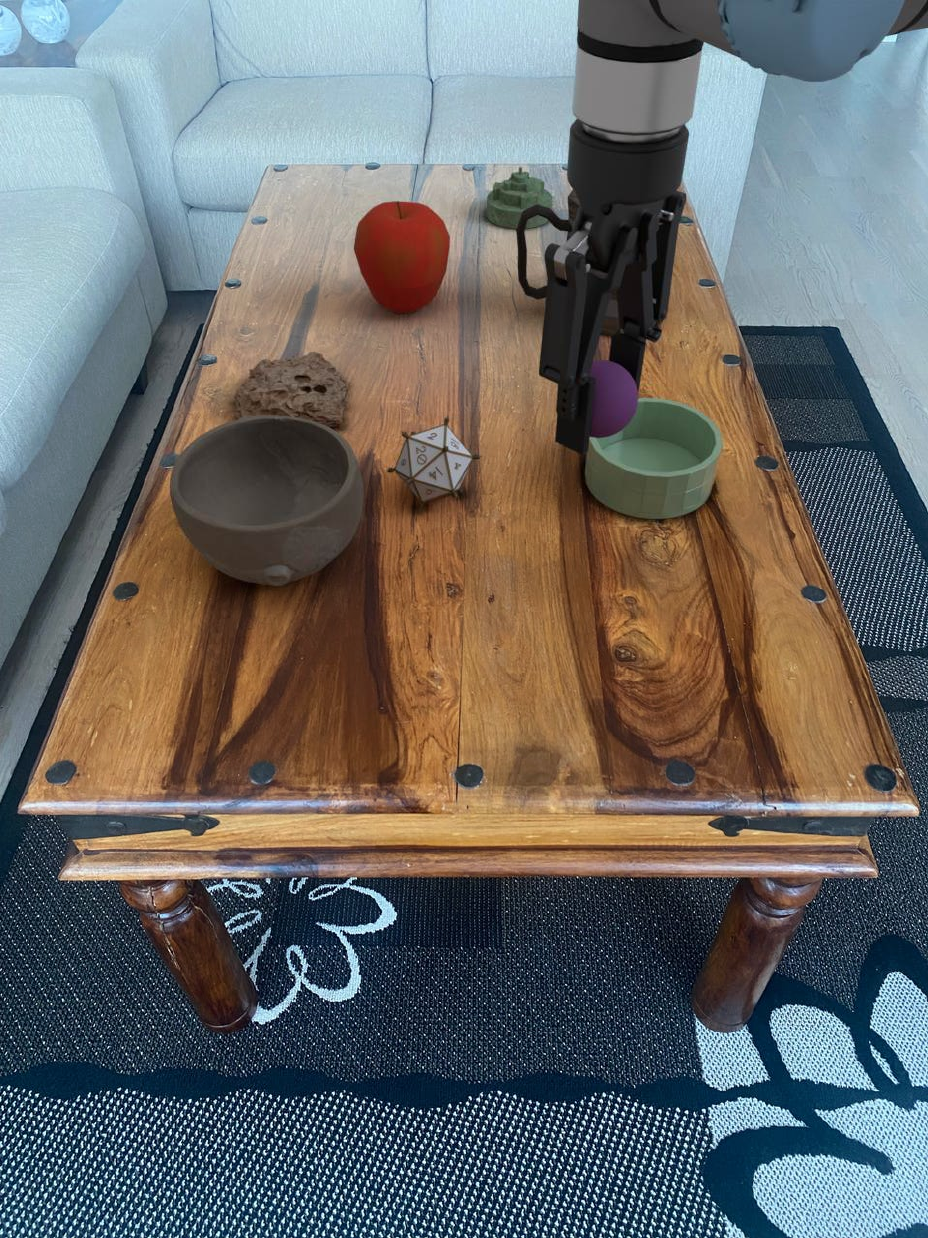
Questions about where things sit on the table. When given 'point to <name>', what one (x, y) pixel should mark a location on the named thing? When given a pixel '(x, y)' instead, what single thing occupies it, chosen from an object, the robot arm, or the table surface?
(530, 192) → the decorative artifact
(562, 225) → the mug
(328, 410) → the rock
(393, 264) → the apple
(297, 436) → the bowl
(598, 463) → the green bowl
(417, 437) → the game die
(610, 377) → the plum ball
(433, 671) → the table surface
